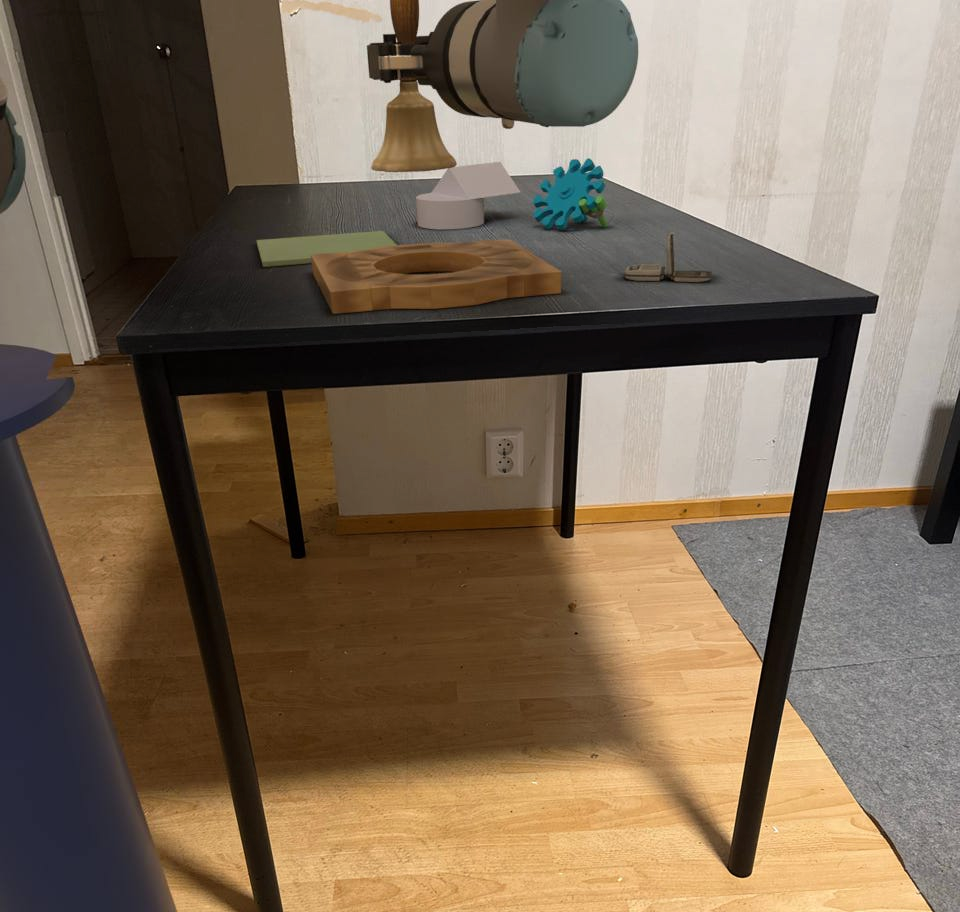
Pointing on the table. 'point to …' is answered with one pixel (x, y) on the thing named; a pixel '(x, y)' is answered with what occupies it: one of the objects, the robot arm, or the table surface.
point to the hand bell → (410, 113)
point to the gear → (572, 196)
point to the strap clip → (657, 271)
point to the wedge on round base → (463, 196)
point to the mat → (317, 246)
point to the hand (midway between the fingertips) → (387, 59)
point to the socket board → (431, 276)
